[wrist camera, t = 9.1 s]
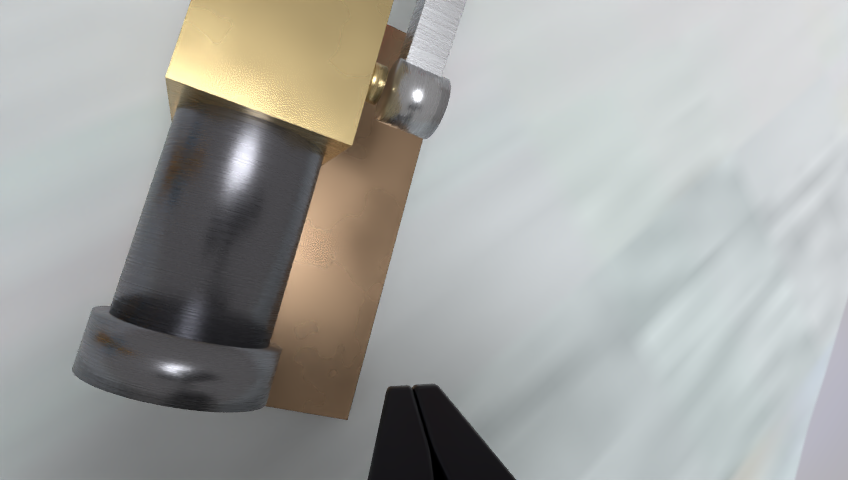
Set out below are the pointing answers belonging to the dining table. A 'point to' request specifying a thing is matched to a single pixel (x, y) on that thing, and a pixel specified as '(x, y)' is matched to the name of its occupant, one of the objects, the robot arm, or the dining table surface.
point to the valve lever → (421, 70)
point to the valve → (262, 214)
